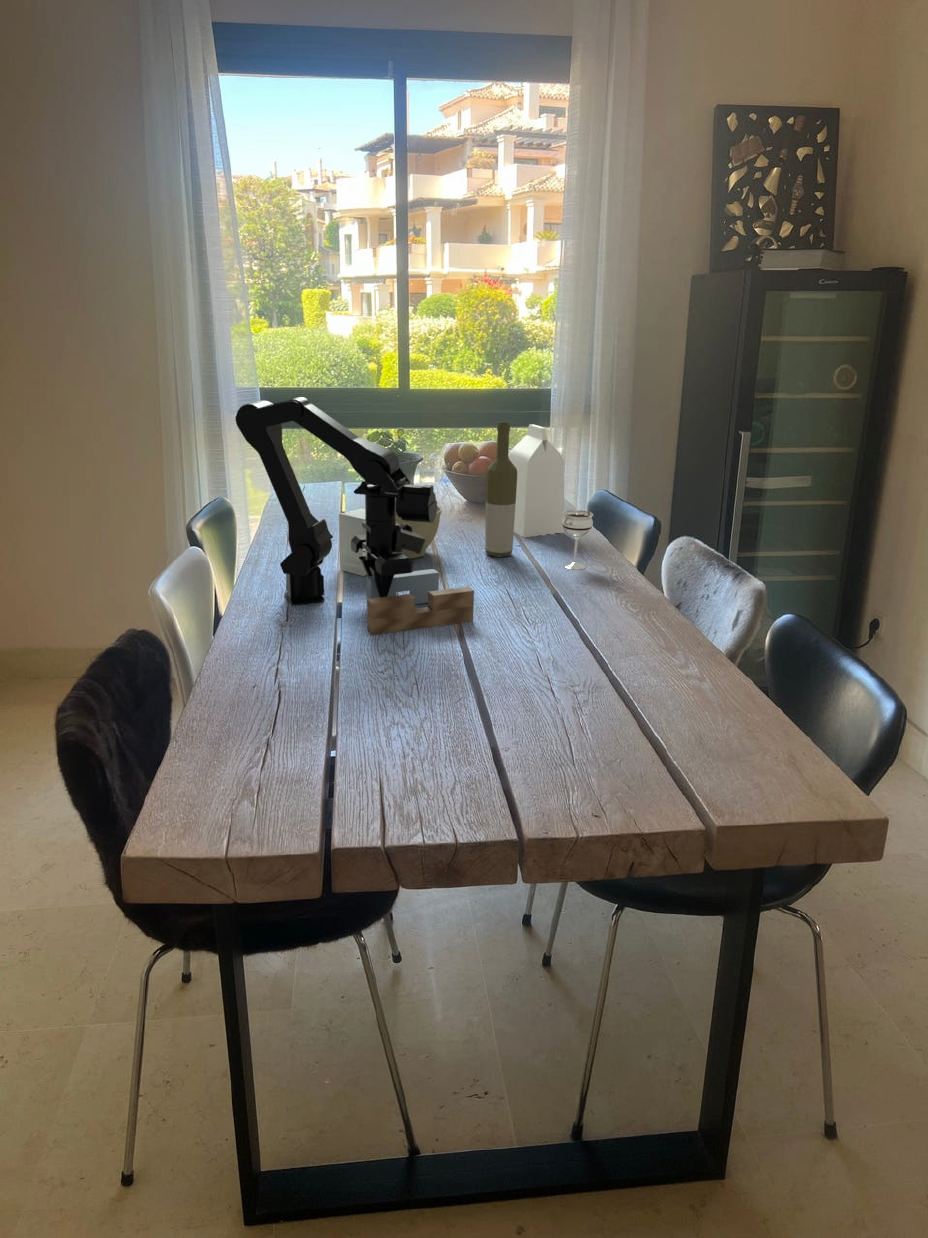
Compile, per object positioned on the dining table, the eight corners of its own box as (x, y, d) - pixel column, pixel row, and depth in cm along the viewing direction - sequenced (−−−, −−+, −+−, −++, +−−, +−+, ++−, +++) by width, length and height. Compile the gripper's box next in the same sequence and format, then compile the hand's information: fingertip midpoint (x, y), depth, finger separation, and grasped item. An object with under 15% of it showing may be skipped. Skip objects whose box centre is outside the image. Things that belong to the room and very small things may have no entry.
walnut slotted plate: (372, 635, 169) (371, 603, 167) (367, 630, 171) (367, 599, 169) (473, 620, 177) (474, 590, 175) (467, 616, 179) (468, 586, 177)
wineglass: (589, 562, 214) (593, 510, 210) (590, 571, 208) (594, 518, 204) (559, 560, 215) (562, 509, 210) (559, 569, 208) (562, 516, 204)
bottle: (514, 559, 215) (520, 426, 204) (483, 558, 215) (487, 425, 205) (513, 550, 222) (519, 421, 211) (483, 549, 222) (487, 420, 211)
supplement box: (364, 577, 200) (363, 519, 196) (338, 570, 205) (337, 513, 200) (387, 569, 206) (386, 512, 201) (362, 562, 210) (361, 506, 206)
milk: (501, 525, 243) (505, 423, 234) (540, 521, 247) (545, 421, 238) (523, 537, 233) (528, 431, 223) (563, 533, 237) (570, 429, 228)
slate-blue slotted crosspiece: (371, 610, 181) (370, 580, 179) (366, 605, 183) (366, 576, 181) (438, 601, 187) (438, 572, 184) (433, 597, 189) (433, 568, 187)
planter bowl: (431, 566, 208) (432, 518, 205) (361, 560, 211) (360, 513, 207) (447, 547, 223) (448, 502, 219) (381, 541, 226) (381, 497, 222)
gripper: (439, 526, 172) (438, 606, 178) (402, 503, 188) (402, 577, 193) (382, 531, 168) (382, 614, 173) (349, 507, 184) (350, 583, 189)
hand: (381, 596), depth 182 cm, fingers closed on slate-blue slotted crosspiece, 2 cm apart
